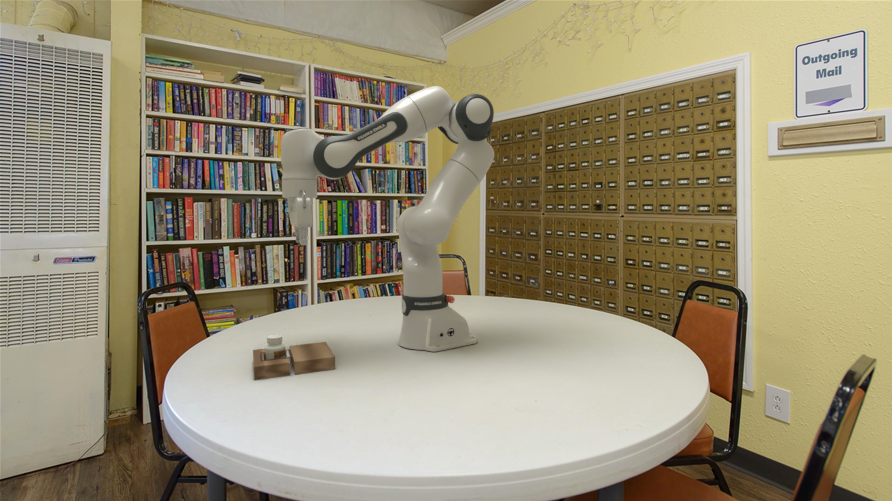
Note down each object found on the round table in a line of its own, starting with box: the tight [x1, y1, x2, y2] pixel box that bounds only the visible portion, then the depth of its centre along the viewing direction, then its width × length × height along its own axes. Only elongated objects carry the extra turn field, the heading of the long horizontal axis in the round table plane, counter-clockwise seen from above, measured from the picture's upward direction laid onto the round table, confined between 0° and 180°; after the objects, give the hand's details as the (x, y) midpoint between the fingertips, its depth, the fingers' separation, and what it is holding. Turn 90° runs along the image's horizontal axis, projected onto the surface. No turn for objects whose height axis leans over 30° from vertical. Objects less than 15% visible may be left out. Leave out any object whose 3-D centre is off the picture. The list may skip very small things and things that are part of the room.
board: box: [252, 341, 336, 381], centre depth 116 cm, size 18×14×3 cm
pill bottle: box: [264, 334, 286, 360], centre depth 114 cm, size 4×4×8 cm
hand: (301, 243), depth 125 cm, fingers open, 8 cm apart
